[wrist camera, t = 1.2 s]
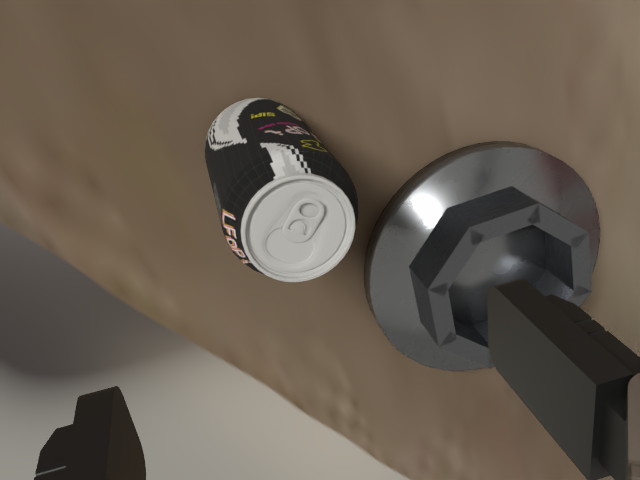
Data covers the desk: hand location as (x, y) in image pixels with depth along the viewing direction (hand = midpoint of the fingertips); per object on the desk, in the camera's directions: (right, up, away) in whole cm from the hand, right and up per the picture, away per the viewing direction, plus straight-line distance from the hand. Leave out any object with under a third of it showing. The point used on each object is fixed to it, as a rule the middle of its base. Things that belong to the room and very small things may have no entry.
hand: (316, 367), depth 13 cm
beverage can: (-4, +8, +21) cm, 23 cm away
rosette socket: (+11, +2, +28) cm, 30 cm away
